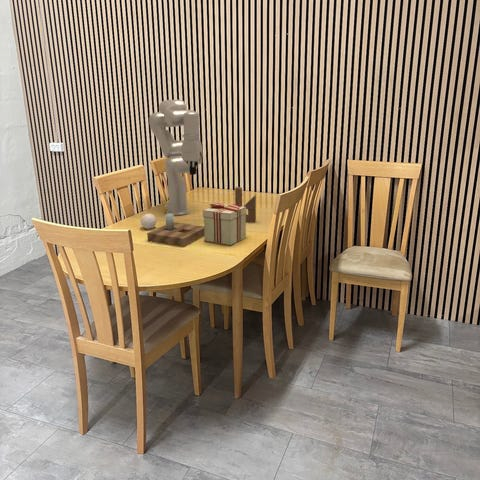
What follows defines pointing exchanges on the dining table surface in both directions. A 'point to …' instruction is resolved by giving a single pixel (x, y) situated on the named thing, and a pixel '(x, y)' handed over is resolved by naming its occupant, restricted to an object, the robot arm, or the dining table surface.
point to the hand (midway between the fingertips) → (193, 174)
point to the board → (177, 234)
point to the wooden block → (246, 205)
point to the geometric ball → (148, 221)
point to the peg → (169, 222)
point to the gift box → (224, 223)
